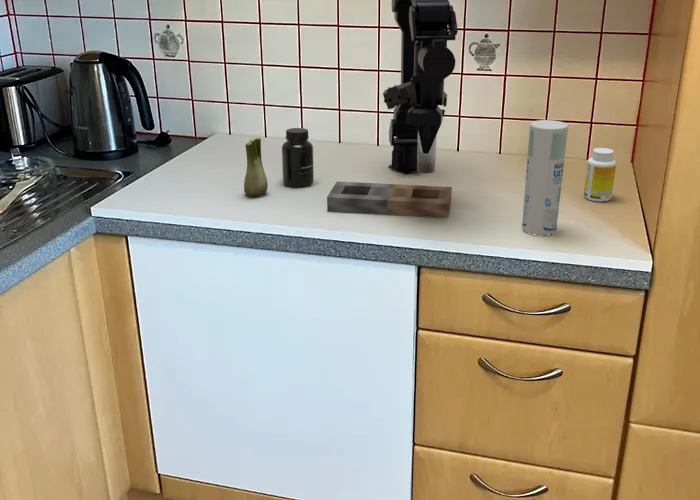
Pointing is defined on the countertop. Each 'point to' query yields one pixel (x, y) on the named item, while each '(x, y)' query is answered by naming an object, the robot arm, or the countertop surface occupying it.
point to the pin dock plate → (390, 199)
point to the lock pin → (426, 158)
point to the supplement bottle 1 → (297, 159)
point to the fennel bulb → (254, 170)
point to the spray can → (544, 176)
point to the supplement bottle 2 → (600, 175)
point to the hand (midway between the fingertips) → (426, 150)
